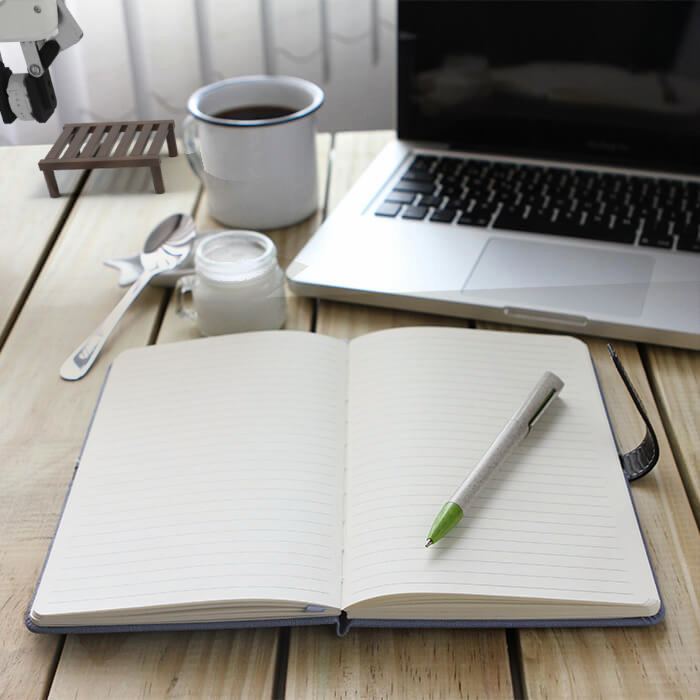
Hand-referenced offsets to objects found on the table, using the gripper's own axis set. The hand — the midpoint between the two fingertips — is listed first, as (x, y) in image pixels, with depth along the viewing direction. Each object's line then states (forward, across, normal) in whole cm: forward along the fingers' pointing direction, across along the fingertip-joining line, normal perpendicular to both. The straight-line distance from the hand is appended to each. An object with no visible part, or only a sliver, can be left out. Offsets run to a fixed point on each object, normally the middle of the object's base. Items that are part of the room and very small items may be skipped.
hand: (29, 116), depth 69 cm
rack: (+17, -1, +24) cm, 29 cm away
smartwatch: (0, 0, 0) cm, 0 cm away
